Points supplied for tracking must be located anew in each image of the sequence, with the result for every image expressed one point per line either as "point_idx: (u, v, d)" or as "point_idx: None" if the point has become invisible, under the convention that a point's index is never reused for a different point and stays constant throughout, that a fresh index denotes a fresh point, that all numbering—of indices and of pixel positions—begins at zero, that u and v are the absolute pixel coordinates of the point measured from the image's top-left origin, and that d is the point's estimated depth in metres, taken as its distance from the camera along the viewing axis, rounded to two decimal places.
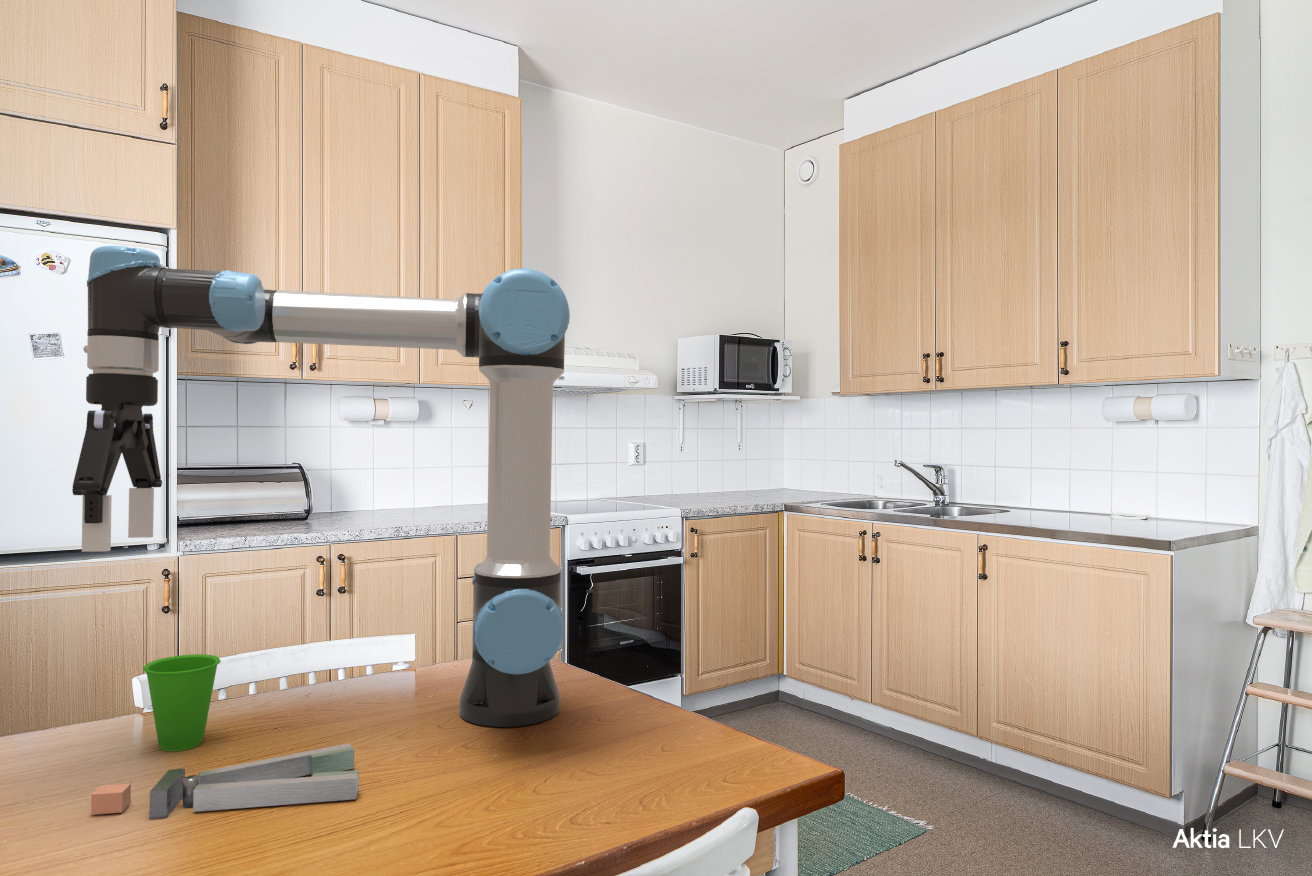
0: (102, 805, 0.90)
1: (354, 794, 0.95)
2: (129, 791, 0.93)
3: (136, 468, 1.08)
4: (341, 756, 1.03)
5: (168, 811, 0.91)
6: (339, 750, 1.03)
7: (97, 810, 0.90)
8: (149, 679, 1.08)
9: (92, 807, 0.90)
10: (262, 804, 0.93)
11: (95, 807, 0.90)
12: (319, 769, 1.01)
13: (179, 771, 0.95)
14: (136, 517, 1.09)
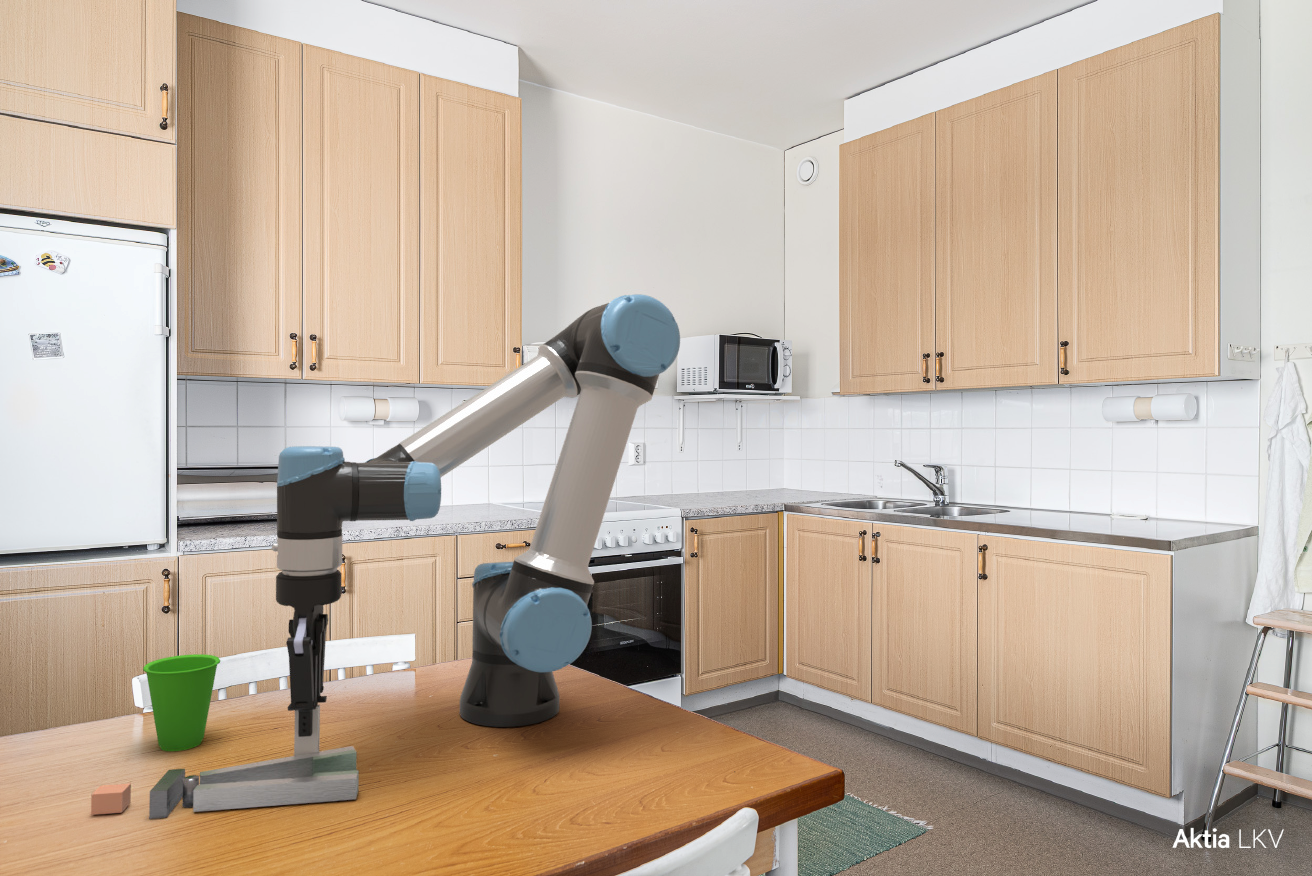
0: (102, 805, 0.90)
1: (354, 794, 0.95)
2: (129, 791, 0.93)
3: None
4: (343, 759, 1.02)
5: (168, 811, 0.91)
6: (342, 752, 1.03)
7: (97, 810, 0.90)
8: (149, 679, 1.08)
9: (92, 807, 0.90)
10: (262, 804, 0.93)
11: (95, 807, 0.90)
12: (320, 772, 1.01)
13: (179, 771, 0.95)
14: None
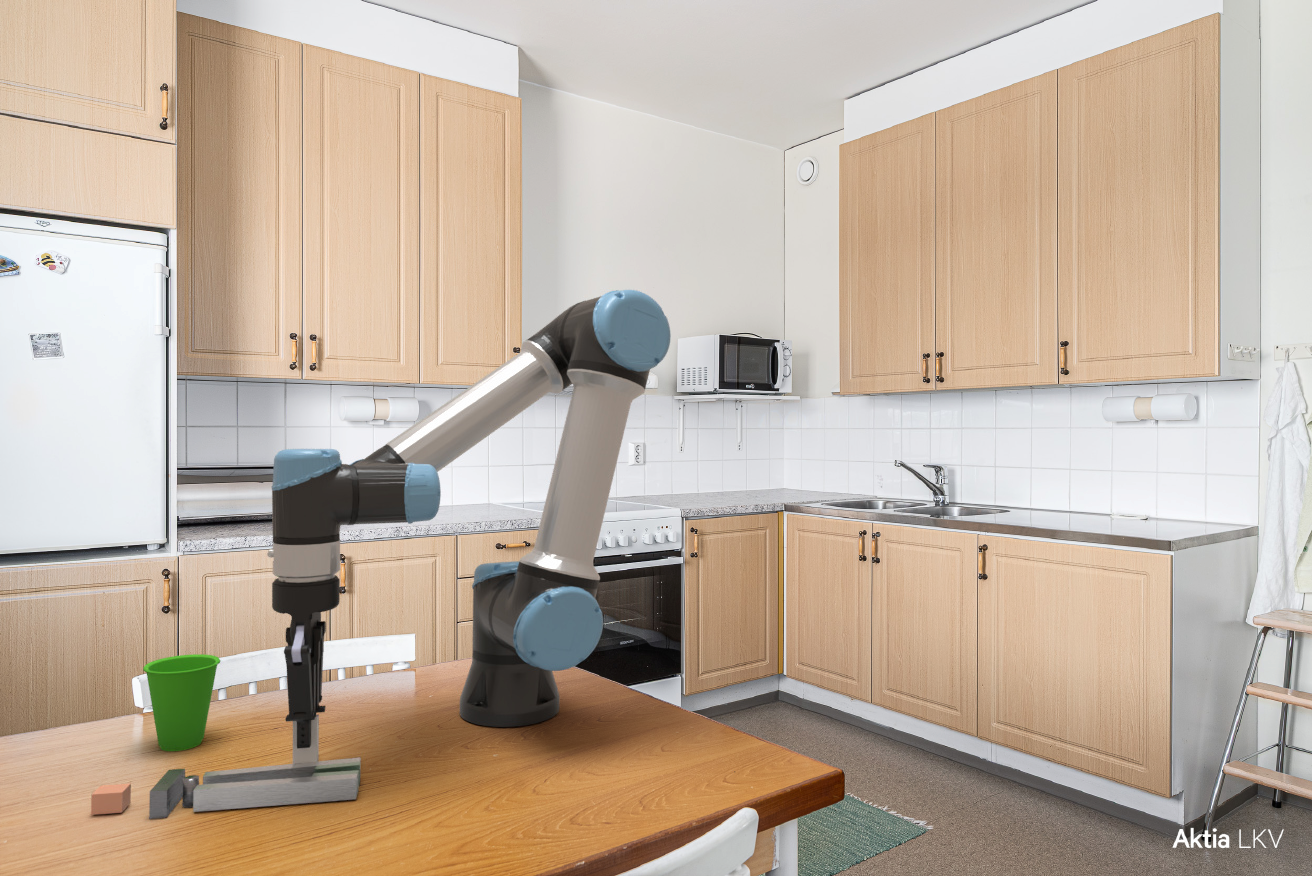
0: (102, 805, 0.90)
1: (354, 794, 0.95)
2: (129, 791, 0.93)
3: None
4: None
5: (168, 811, 0.91)
6: (345, 764, 0.99)
7: (97, 810, 0.90)
8: (149, 679, 1.08)
9: (92, 807, 0.90)
10: (262, 804, 0.93)
11: (95, 807, 0.90)
12: None
13: (179, 771, 0.95)
14: None
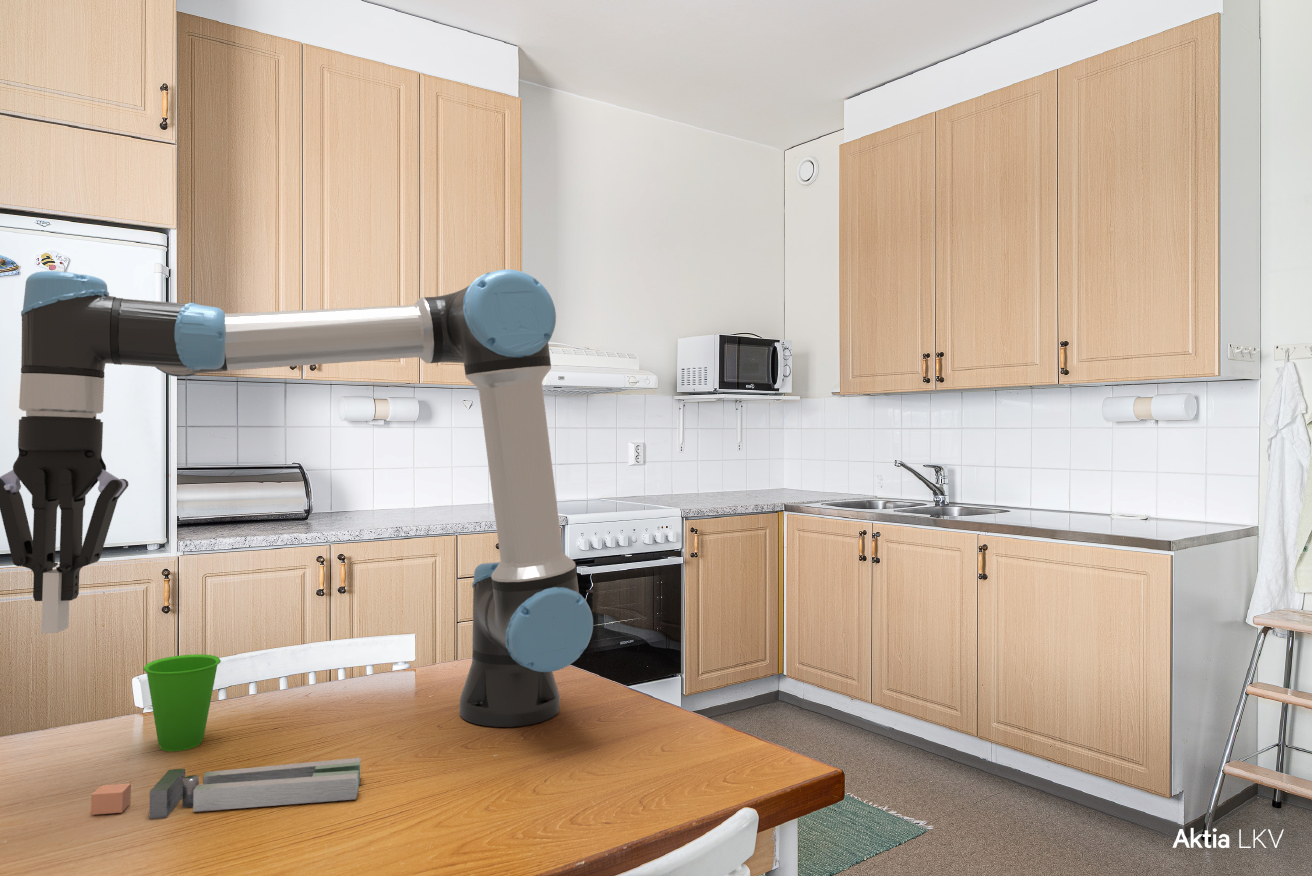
0: (102, 805, 0.90)
1: (354, 794, 0.95)
2: (129, 791, 0.93)
3: None
4: None
5: (168, 811, 0.91)
6: (345, 764, 0.99)
7: (97, 810, 0.90)
8: (149, 679, 1.08)
9: (92, 807, 0.90)
10: (262, 804, 0.93)
11: (95, 807, 0.90)
12: None
13: (179, 771, 0.95)
14: None
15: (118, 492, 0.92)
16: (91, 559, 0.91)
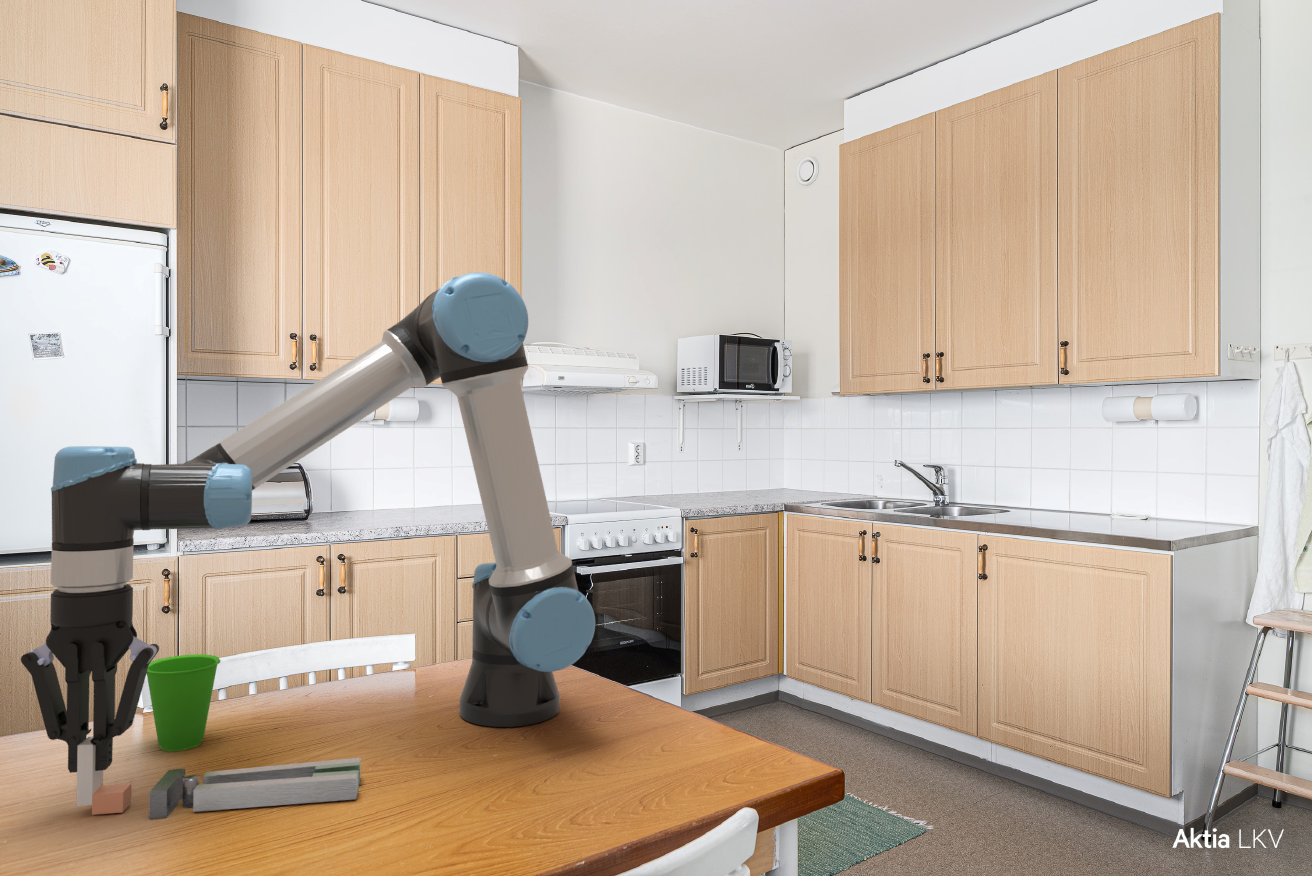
0: (103, 805, 0.90)
1: (354, 794, 0.95)
2: (130, 790, 0.93)
3: None
4: None
5: (168, 811, 0.91)
6: (345, 764, 0.99)
7: (98, 810, 0.90)
8: (149, 679, 1.08)
9: (93, 807, 0.90)
10: (262, 804, 0.93)
11: (96, 807, 0.90)
12: None
13: (179, 771, 0.95)
14: None
15: (149, 659, 0.92)
16: (124, 728, 0.91)
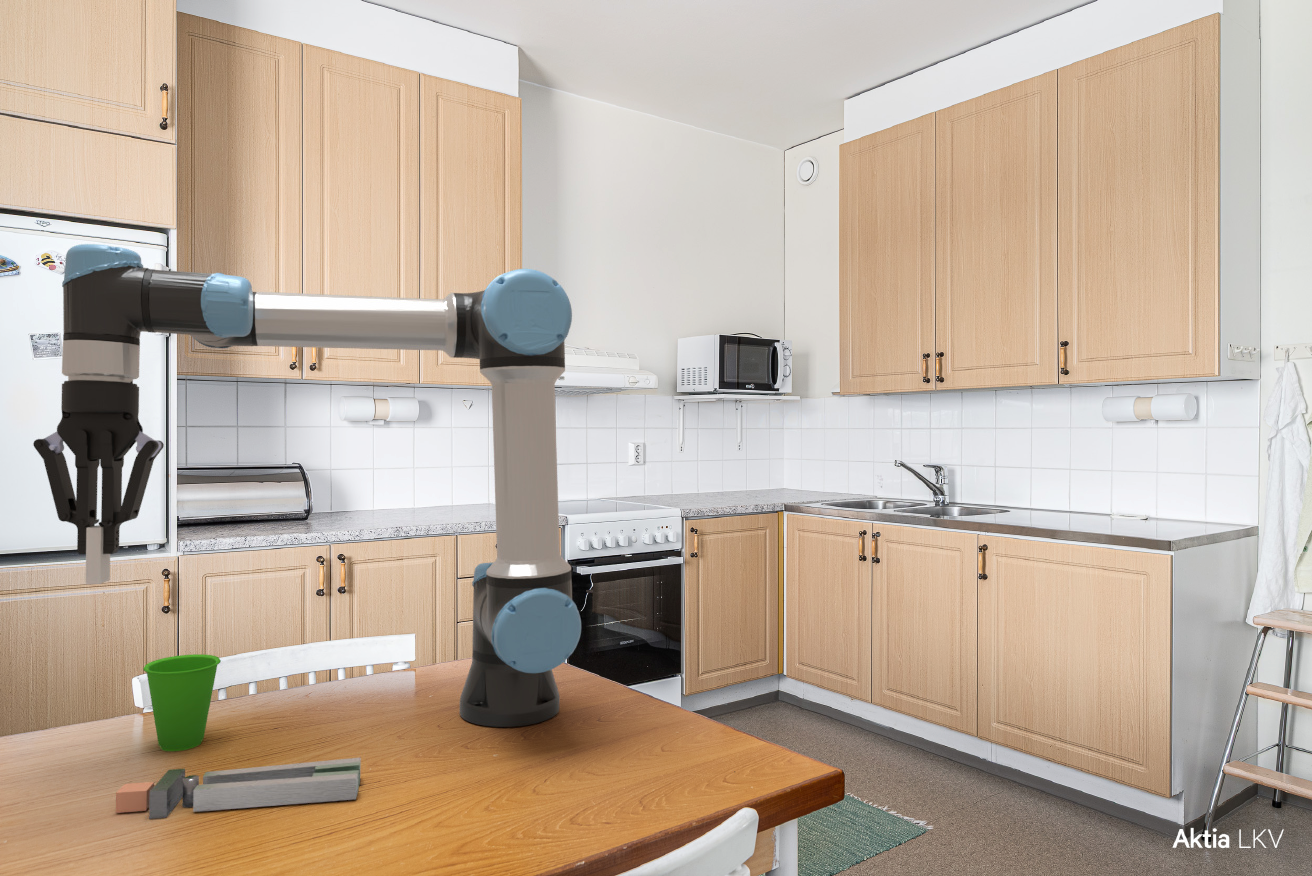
0: (127, 803, 0.91)
1: (354, 794, 0.95)
2: None
3: None
4: None
5: (168, 811, 0.91)
6: (345, 764, 0.99)
7: (122, 808, 0.91)
8: (149, 679, 1.08)
9: (116, 805, 0.91)
10: (262, 804, 0.93)
11: (120, 805, 0.91)
12: None
13: (179, 771, 0.95)
14: None
15: (154, 452, 0.98)
16: (130, 515, 0.96)
